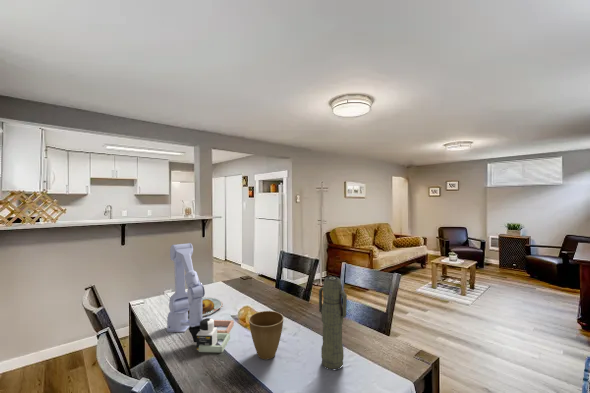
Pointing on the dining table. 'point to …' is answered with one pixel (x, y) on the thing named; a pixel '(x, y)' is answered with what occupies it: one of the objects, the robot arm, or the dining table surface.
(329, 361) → the thermos
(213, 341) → the medicine bottle
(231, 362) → the dining table surface
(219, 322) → the terracotta bay
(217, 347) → the sage bay
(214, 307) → the food on plate
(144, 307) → the dining table surface
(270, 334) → the plant pot
